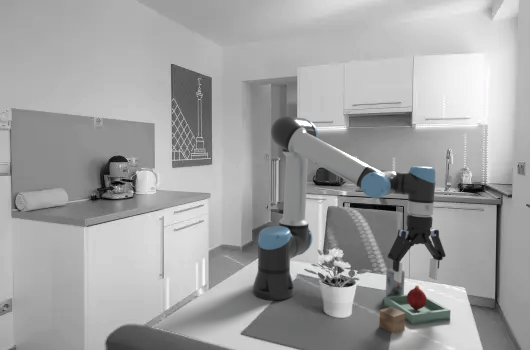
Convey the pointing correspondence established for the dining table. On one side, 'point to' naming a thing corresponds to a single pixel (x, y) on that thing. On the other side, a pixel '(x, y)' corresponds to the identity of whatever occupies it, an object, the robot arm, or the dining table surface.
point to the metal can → (394, 284)
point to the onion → (416, 298)
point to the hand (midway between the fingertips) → (415, 279)
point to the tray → (423, 315)
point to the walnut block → (392, 320)
